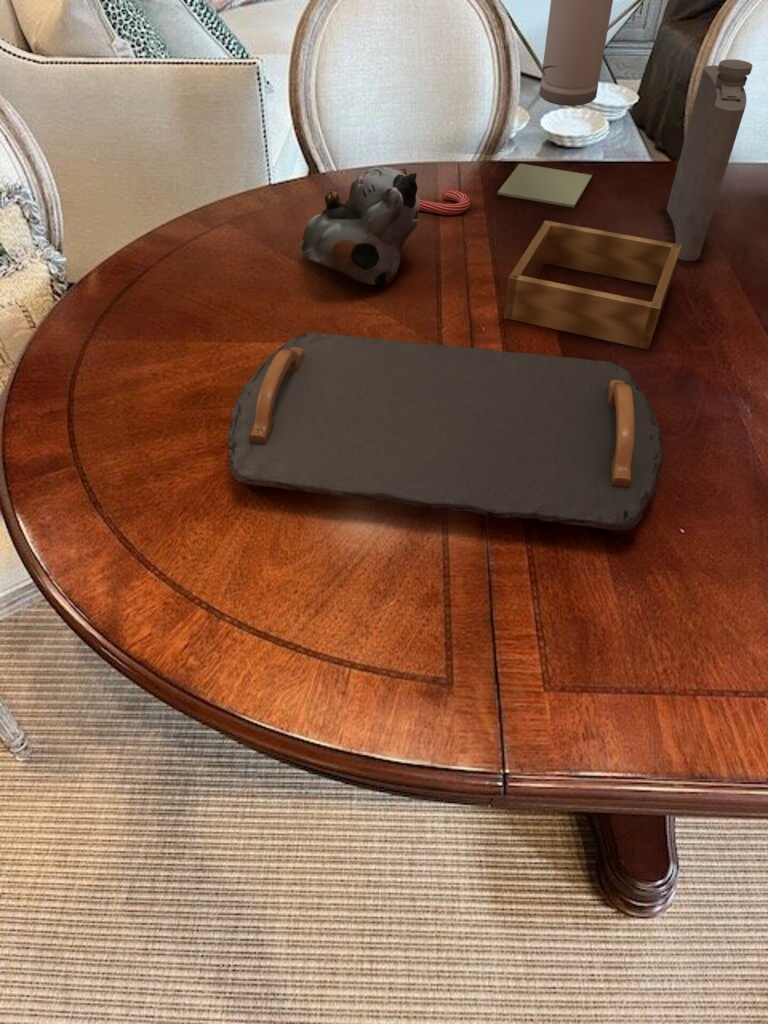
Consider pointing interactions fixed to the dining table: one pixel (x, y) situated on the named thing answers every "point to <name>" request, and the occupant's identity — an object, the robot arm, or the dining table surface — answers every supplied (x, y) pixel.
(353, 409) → the serving tray
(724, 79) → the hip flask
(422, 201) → the candy cane
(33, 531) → the dining table surface
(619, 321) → the wooden box
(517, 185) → the placemat
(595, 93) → the travel mug
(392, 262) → the lucky cat figurine
